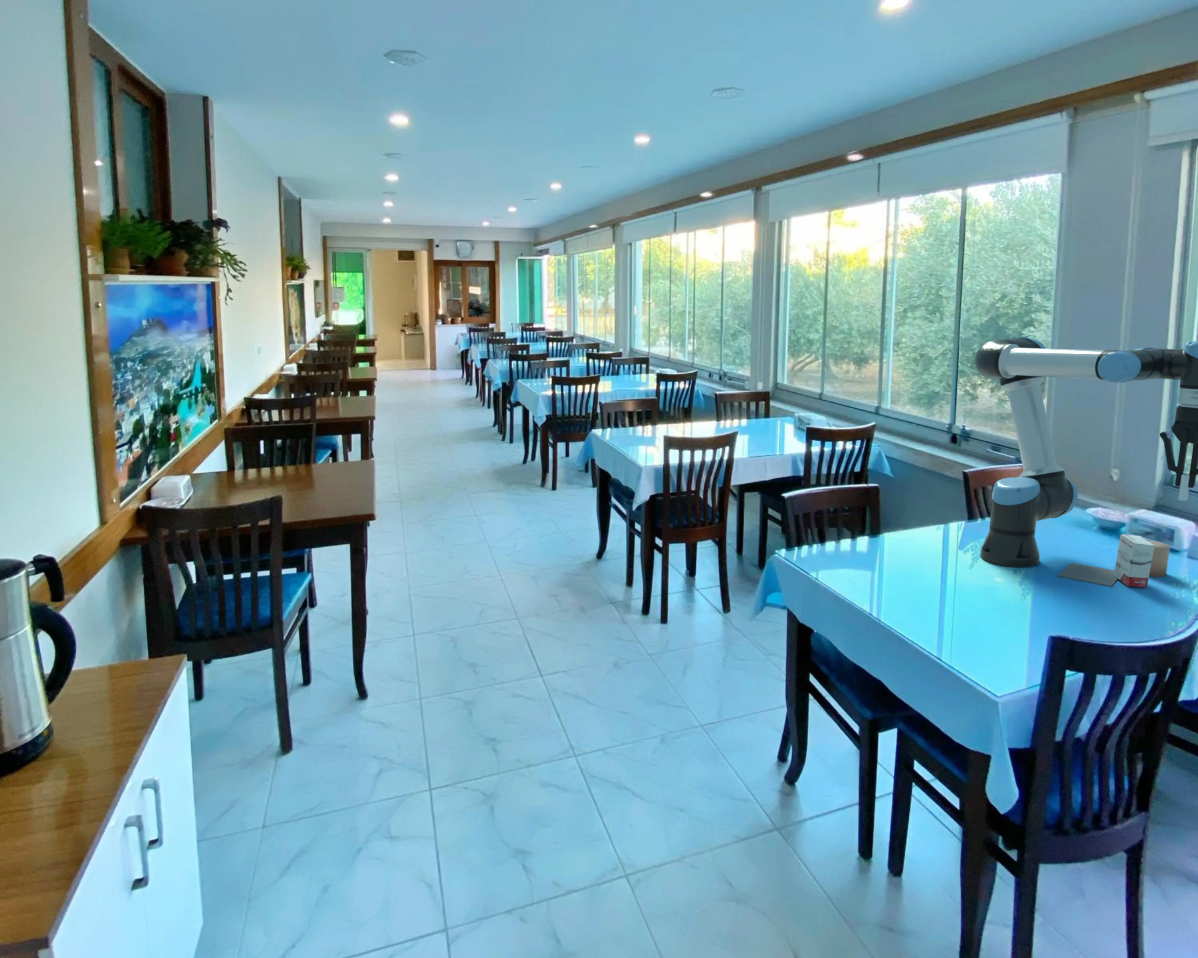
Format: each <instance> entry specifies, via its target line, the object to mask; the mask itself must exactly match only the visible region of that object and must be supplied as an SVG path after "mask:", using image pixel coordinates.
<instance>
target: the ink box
mask: <svg viewBox="0 0 1198 958" xmlns="http://www.w3.org/2000/svg"><path fill="white" fill-rule="evenodd" d="M1148 541H1149V540H1147V539H1146V538H1144V537H1143V536H1141V535H1134V534H1133V535H1131V534H1125V533H1124V534H1123V533H1122V534H1120V536H1119V541H1118V542H1119V544H1118V548H1117V554H1116V560H1115V566H1114V569H1113V570H1114V576H1115V577H1116V578H1118V580H1119V581H1120V582H1121V583H1122V584H1124V585H1125V586H1126V587H1132V588H1133V587H1134V588H1135V587H1136V588H1145V589H1146V588H1148V583H1149V578H1150V576H1149V573H1150V568H1151V563H1152V557H1153V552H1154V547H1155V545H1153V544H1152V543H1150V542H1148Z"/></svg>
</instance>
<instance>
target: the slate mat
mask: <svg viewBox="0 0 1198 958" xmlns="http://www.w3.org/2000/svg"><path fill="white" fill-rule="evenodd" d="M1114 570H1115V569H1110V568H1109V569H1108V568H1103V567H1096V566H1093V565H1087V564H1083V563H1076V562H1071V563H1070V564H1068V566H1066V567H1065V568H1064V569H1063V570H1062V571H1060V572H1059V573H1058V575H1057V577H1058V578H1065V579H1070V580H1074V581H1075V580H1076V581H1080V582H1085V583H1089V584H1094V585H1101V586H1105V587H1109V588H1111V587H1113V586H1114V584H1115V583H1116V582H1117V581H1118V580H1119V579H1118V578H1116V577H1115V576H1114Z"/></svg>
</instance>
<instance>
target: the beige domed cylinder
mask: <svg viewBox="0 0 1198 958" xmlns="http://www.w3.org/2000/svg"><path fill="white" fill-rule="evenodd" d="M1147 541H1148V542H1150V543H1152V544H1153V545H1155V547H1154V552H1153V557H1152V563H1151V568H1150V573H1149V578H1150V577H1152V578H1165V577H1166V576H1167V571H1168V564H1169V563H1168V562H1169V557H1170V551H1171V546H1170V545H1169V544H1166V543H1164V542H1158V541H1153V540H1152V541H1151V540H1147Z"/></svg>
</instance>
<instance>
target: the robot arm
mask: <svg viewBox="0 0 1198 958" xmlns="http://www.w3.org/2000/svg"><path fill="white" fill-rule="evenodd" d="M1046 347H1047V346H1045V345H1044V344H1043V343H1042V342H1041V341H1039V340H1037V339H1035V338H1031V337H1030V338H1029V337H1016V338H1015V337H1013V338H1004V339H1002V338H998V339H992V340H989V341H987V342H985V343H983V344H982V345H981V346H980V347H979V348H978V350H977V352H976V353H975V357H974V365H975V367H976V370H977V371H978V373H979V374H980V375H981V376H983V377H985V378H987V379H990V380H991V379H992V380H999V384H1000V389H1002V390H1004V391H1006V392H1007V395H1008V399H1009V404H1010V410H1011V414H1012V420H1013V425H1014V429H1015V433H1016V439H1017V445H1018V449H1019V453H1020V459H1021V463H1022V467H1023V471H1022V472H1021V473H1020V475H1019V476H1016V477H1012V476H1011V477H1006V478H1005V477H1004V478H1002V479H999V480H997V481H996V482H995V483H994V485H993V489H992V493H991V508H990V519H989V520H990V521H989V530H988V534H987V535H986V537H985V539H984V541H983V542H982V545H981V547H980V555H979V556H980V558H981V559H983V560H984V561H986V562H989V563H992V564H995V565H1000V566H1004V567H1012V568H1029V567H1035V566H1038V564H1039V563H1040V558H1041V557H1040V555H1041V554H1040V551H1039V547H1038V544H1037V541H1036V540H1037V539H1036V537H1035V535H1036V525H1037V522H1039V521H1043V520H1049V519H1056V518H1059V517H1062V516H1066V515H1067V514H1069V513H1071V511H1072V510H1073V509H1074V508H1075V506H1077V505H1076V504H1077V503H1078V497H1079V496H1078V495H1079V494H1078V489H1077V487H1076V484H1075V483H1074V482H1073V481H1071V479H1069V478H1068V477H1066V472H1065V470H1064V468H1062V467H1060V465H1058V464H1057V459H1056V456H1055V450H1054V446H1053V440H1052V436H1051V432H1050V427H1049V421H1048V418H1047V412H1046V408H1045V403H1044V398H1043V392H1042V388H1041V384H1042V383H1043V381H1044V380H1045V377H1046V378H1063V379H1075V380H1076V379H1079V380H1098V381H1106V382H1108V383H1117V384H1119V383H1121V384H1122V383H1127V382H1133V381H1135V382H1136V381H1145V380H1156V379H1157V380H1174V381H1179V389H1178V394H1177V395H1178V396H1177V401H1176V403H1177V404H1178V405H1177V406H1176V409H1175V417H1174V418H1175V419H1174V423H1173V425H1171V426H1170V427H1171V428H1170V429H1167V430H1164V431H1161V432H1160V433H1159V437H1160V438H1161V440H1162V442H1163V447H1164V453H1165V458H1166V466H1167V469H1168V471H1171V472H1174V473H1175V482H1174V485H1175V487H1179V492H1178V499H1177V500H1178V501H1182V502H1186V501H1188V498H1189V490H1190V489H1193V488H1194V487H1195V486H1196V480H1197V475H1198V340H1197V341H1196V340H1194V341H1187V342H1186V343H1185V345H1184V347H1183V348H1182V349H1181V348H1180V349H1175V348H1156V347H1144V348H1143V347H1140V348H1135V349H1134V350H1118V349H1116V350H1110V349H1108V350H1104V349H1075V348H1074V349H1073V348H1072V349H1070V348H1046ZM1173 434H1174V436H1175V437H1176V439H1177V440H1178V442H1179V451H1178V457H1177V465H1176V460H1175V454H1174V447H1173V443H1172V438H1173ZM1189 444H1192V451H1191V452H1192V453H1191V459H1190V465H1189V466H1190V468H1189V473H1187V472H1184V471H1185V467H1186V466H1185V465H1186V462H1187V461H1186V459H1187V452H1188V446H1189ZM1189 488H1190V489H1189Z"/></svg>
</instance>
